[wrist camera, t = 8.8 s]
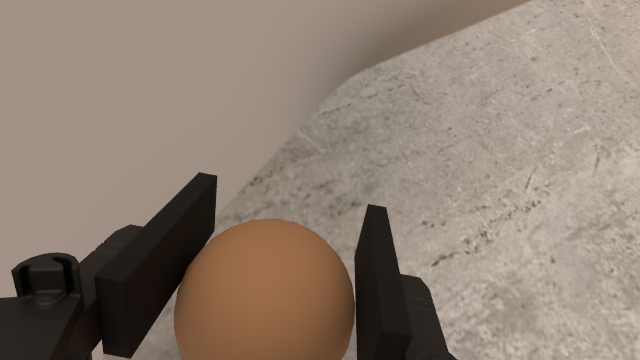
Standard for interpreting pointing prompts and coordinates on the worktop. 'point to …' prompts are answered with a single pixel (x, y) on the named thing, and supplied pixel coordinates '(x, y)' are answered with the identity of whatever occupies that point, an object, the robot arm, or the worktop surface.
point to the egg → (265, 297)
